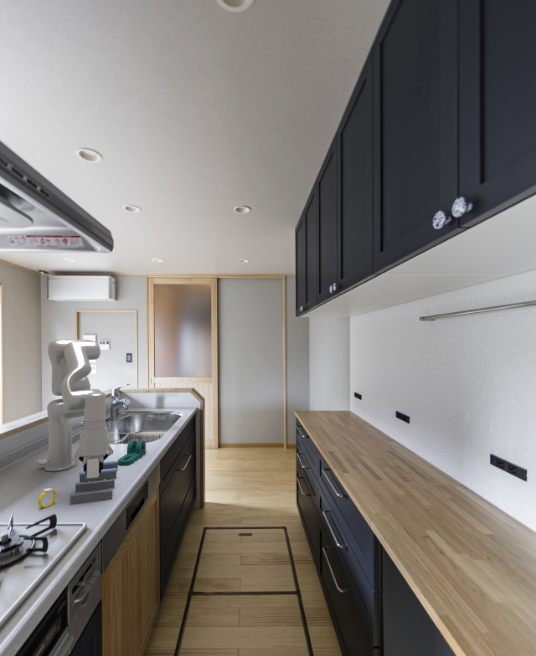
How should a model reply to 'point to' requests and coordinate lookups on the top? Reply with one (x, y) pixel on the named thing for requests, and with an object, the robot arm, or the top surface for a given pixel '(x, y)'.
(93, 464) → the off-white rectangular prism
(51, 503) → the watch
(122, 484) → the top surface
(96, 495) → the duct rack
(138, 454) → the bracket
